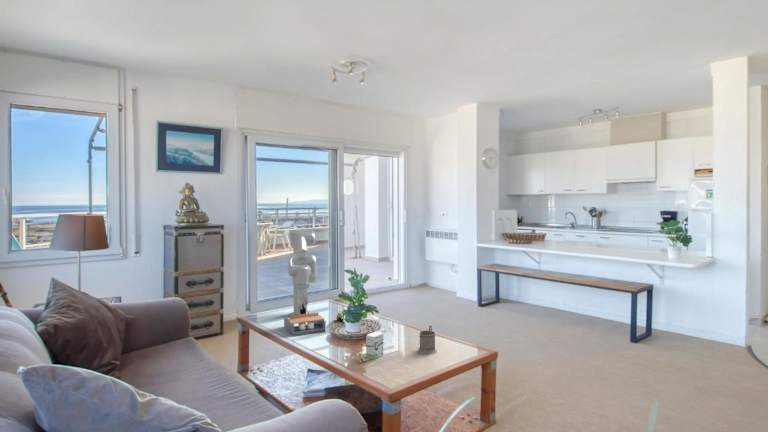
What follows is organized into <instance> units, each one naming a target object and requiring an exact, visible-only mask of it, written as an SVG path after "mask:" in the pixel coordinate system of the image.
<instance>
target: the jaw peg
mask: <svg viewBox="0 0 768 432" xmlns="http://www.w3.org/2000/svg"><path fill="white" fill-rule="evenodd" d="M306 325H307V322H305V323H298V326H299V329H298V331H306Z"/></svg>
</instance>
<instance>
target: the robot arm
mask: <svg viewBox="0 0 768 432" xmlns="http://www.w3.org/2000/svg"><path fill="white" fill-rule="evenodd" d="M289 241H290V243H291V246H292V250H293V252H292V254H291V255H290V257H289V259H288V262H287V263H288V264H287V266H288V267H287V272H288V275H289V276H290V277H291V280H292V290H293V292H292V294H293V301H292V302H293V312H291V315H300V314H308V313H310V311H308V305H309V293H308V291H309V290H308V289H309V288H310V284H314V283H316V282H317V281H318V264H317V263H318V262H317V261H318V260H317V256H316V255H315V254H311V253H310V254H308V245H315V244H316V241H317V237H316V232H315V230H313V229H294V230H290V232H289ZM291 315H290V316H291Z"/></svg>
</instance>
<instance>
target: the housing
mask: <svg viewBox="0 0 768 432" xmlns="http://www.w3.org/2000/svg"><path fill="white" fill-rule="evenodd" d="M288 319H289V318H288V317H287V316H285V315H284V317H283V327H284V329H286V331H287V333H289V334H290V336H291V337H298V336H299V337H300V336H302V337H303V336H307V335H313V334H314V335H315V334H322V333H326V329H327V328H326V323H327V322H326V320H325V319H324V320H321V321H313V322H306V331H298V329H299V325H297V326H296V325H295V324H291V323H290V322H289V321H288Z"/></svg>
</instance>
